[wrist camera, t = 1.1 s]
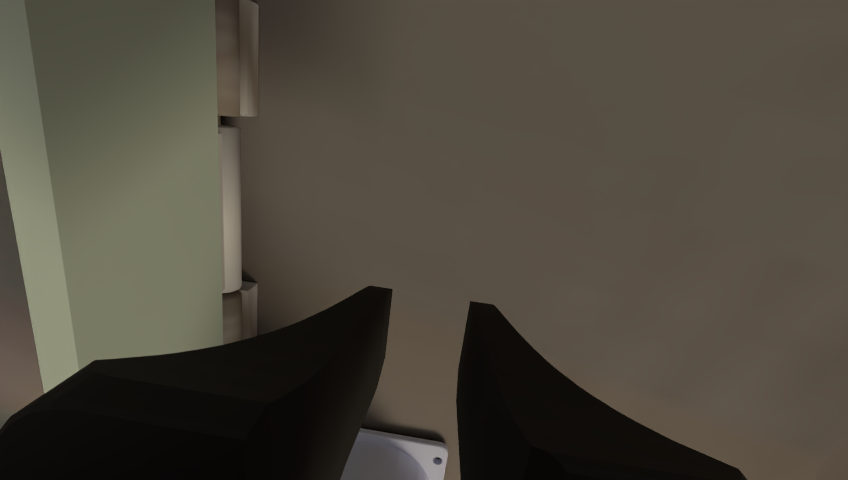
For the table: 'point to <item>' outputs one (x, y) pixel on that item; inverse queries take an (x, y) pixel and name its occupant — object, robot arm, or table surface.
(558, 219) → the table surface
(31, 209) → the hinge leaf
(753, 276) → the table surface
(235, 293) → the base leaf
